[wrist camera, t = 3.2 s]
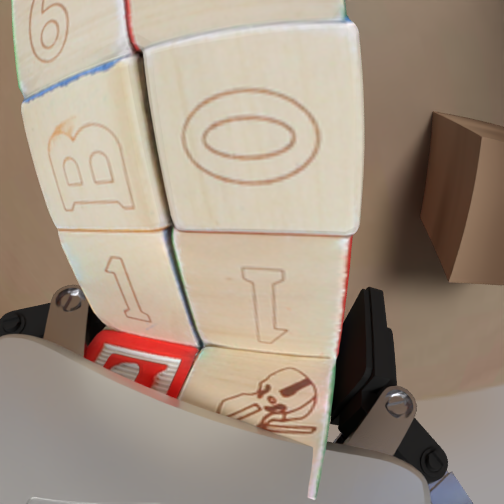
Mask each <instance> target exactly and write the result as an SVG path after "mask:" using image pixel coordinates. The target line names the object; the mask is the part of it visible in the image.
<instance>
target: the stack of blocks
mask: <svg viewBox="0 0 504 504" xmlns="http://www.w3.org/2000/svg"><path fill="white" fill-rule="evenodd" d="M11 1H12V27H13V39H14V51H15V61H16V69H17V77H18V85H19V88H20V90H21V92H22V94H23V96H24V100H23V102H22V109H21V113H22V117H23V122H24V127H25V131H26V135H27V139H28V143H29V147H30V151H31V155H32V159H33V162H34V166H35V169H36V173H37V176H38V179H39V183H40V186H41V189H42V192H43V195H44V198H45V201H46V204H47V207H48V210H49V213H50V215H51V218H52V220H53V222H54V224H55V225H56V227H57V228H58V234H59V239H60V242H61V246H62V248H63V250H64V252H65V254H66V257H67V259H68V261H69V263H70V266H71V268H72V270H73V272H74V275H75V277H76V279H77V281H78V283H79V285H80V287H81V289H82V290H83V292H84V294H85V296H86V298H87V300H88V302H89V304H90V306H91V308H92V310H93V312H94V313H95V314H96V315H97V317H98V318H99V319H100V320H101V321H102V322H103V323H104V324H106V327H105V328H104V329H103V330H102V331H101V332H99V333H98V334H97V335H96V336H95V337H94V339H93V340H92V342H91V343H90V344H89V345H88V347H87V354H86V359H88V360H90V361H92V362H94V363H96V364H98V365H100V366H102V367H104V368H106V369H108V370H110V371H112V372H114V373H117V374H119V375H121V376H123V377H125V378H127V379H130V380H132V381H134V382H136V383H139V384H141V385H143V386H146V387H148V388H151V389H153V390H155V391H158V392H160V393H163V394H165V395H168V396H170V397H173V398H176V399H178V400H181V401H184V402H186V403H189V404H192V405H194V406H197V407H200V408H203V409H206V410H209V411H212V412H215V413H218V414H221V415H224V416H227V417H231V418H234V419H237V420H241V421H244V422H247V423H249V424H252V425H254V426H257V427H259V428H262V429H264V430H267V431H270V432H273V433H275V434H278V435H281V436H284V437H286V438H289V439H292V440H295V441H297V442H300V443H303V444H306V445H308V446H311V447H313V460H312V469H311V475H310V481H309V488H308V496H307V497H308V498H310V499H313V500H315V499H316V498H317V493H318V488H319V483H320V478H321V473H322V466H323V460H324V456H325V451H326V444H327V437H328V430H329V423H330V416H331V408H332V400H333V392H334V384H335V370H336V359H337V356H338V354H339V346H340V339H341V333H342V326H343V319H344V311H345V303H346V294H347V286H348V278H349V269H350V258H351V246H352V236H353V234H354V233H355V232H356V231H357V230H358V228H359V226H360V216H361V203H362V188H363V169H364V97H363V77H362V62H361V50H360V39H359V30H358V28H357V27H356V25H355V24H354V23H353V22H352V21H351V20H350V19H349V18H348V16H347V14H346V4H345V0H11Z"/></svg>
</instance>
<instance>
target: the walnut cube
mask: <svg viewBox="0 0 504 504" xmlns="http://www.w3.org/2000/svg"><path fill="white" fill-rule="evenodd" d="M420 218H421V220H422V222H423V224H424V226H425V228H426V230H427V233H428V235H429V237H430V239H431V241H432V243H433V246H434V248H435V250H436V253H437V255H438V257H439V260H440V262H441V264H442V267H443V269H444V272H445V274H446V277H447V279H448V282H454V283H471V284H490V285H504V127H503V126H499V125H495V124H491V123H487V122H483V121H479V120H474V119H470V118H465V117H460V116H455V115H450V114H445V113H439V112H433V118H432V132H431V143H430V153H429V162H428V170H427V178H426V185H425V191H424V198H423V204H422V209H421V215H420Z"/></svg>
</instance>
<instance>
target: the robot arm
mask: <svg viewBox="0 0 504 504" xmlns="http://www.w3.org/2000/svg"><path fill="white" fill-rule="evenodd" d="M105 327H106V324H104V323H103V322H102V321H101V320H100V319H99V318H98V317H97V315H96V314H95V313H94V312H93V310H92V308H91V306H90V304H89V302H88V300H87V298H86V296H85V294H84V292H83V290H82V289H81V287H80V286H79V285H67V286H65V287H62V288H60V289H59V290H57V291H56V293H55V294H54V295H53V297H52V300H51V303H48V304H43V305H38V306H34V307H29V308H25V309H20V310H15V311H11V312H9V313H7V314H5V315H4V316H3V317H2V318H1V319H0V504H473V502H472V501H471V499H470V498H469V496H468V495H467V493H466V492H465V490H464V489H463V487H462V486H461V485H460V483H459V481H458V480H457V479H456V477H455V476H454V474H453V473H452V472H450V473H448V471H447V467H448V459H447V456H446V454H445V452H444V451H443V450H442V449H441V447H440V446H439V445H438V444H437V443H436V442H435V440H434V439H433V438H432V437H431V436H430V435H429V434H428V433H427V431H426V430H425V429H424V428H423V427H422V426H421V425H420V424H419V422H418V421H417V420H416V419H415V418H414V417H415V414H416V411H417V404H416V401H415V398H414V397H413V395H412V394H411V393H410V392H409V391H408V390H407V389H405V388H403V387H400V386H397V380H396V365H395V353H394V342H393V333H392V330H391V329H390V328H387V322H386V313H385V304H384V296H383V291H382V290H378V289H375V288H372V287H368V288H367V289H366V290H365V289H362V290H361V291H360V293H359V295H358V297H357V299H356V301H355V303H354V304H353V306H352V308H351V310H350V312H349V314H348V315H347V317H346V319H345V321H344V323H343V326H342V333H341V339H340V346H339V354H338V356H337V359H336V370H335V384H334V392H333V400H332V408H331V422H330V424H334V425H339V426H338V429H339V431H340V432H341V433H340V434H339V436H338V437H337V438H336V439H335V441H334V442H333V443H332V442H327V444H326V451H325V456H324V460H323V466H322V473H321V478H320V483H319V488H318V493H317V498H316V499H315V500H313V499H310V498H308V497H307V496H308V488H309V481H310V475H311V469H312V460H313V447H311V446H308V445H306V444H303V443H300V442H297V441H295V440H292V439H289V438H286V437H284V436H281V435H278V434H275V433H273V432H270V431H267V430H264V429H262V428H259V427H257V426H254V425H252V424H249V423H247V422H244V421H241V420H237V419H234V418H231V417H227V416H224V415H221V414H218V413H215V412H212V411H209V410H206V409H203V408H200V407H197V406H194V405H192V404H189V403H186V402H184V401H181V400H178V399H176V398H173V397H170V396H168V395H165V394H163V393H160V392H158V391H155V390H153V389H151V388H148V387H146V386H143V385H141V384H139V383H136V382H134V381H132V380H130V379H127V378H125V377H123V376H121V375H119V374H117V373H114V372H112V371H110V370H108V369H106V368H104V367H102V366H100V365H98V364H96V363H94V362H92V361H90V360H88V359H86V354H87V347H88V345H89V344H90V343H91V342H92V340H93V339H94V337H95V336H96V335H97V334H98V333H99V332H101V331H102V330H103V329H104V328H105Z"/></svg>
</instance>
